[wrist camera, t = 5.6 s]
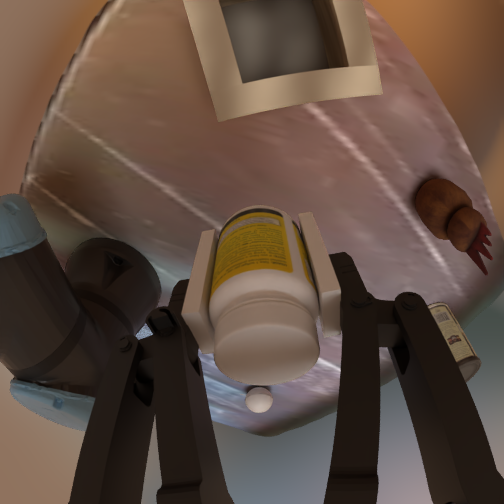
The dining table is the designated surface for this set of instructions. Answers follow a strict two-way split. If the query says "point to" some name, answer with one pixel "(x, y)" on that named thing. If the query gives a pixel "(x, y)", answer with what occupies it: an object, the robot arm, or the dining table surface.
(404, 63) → the dining table surface
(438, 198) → the wooden figurine
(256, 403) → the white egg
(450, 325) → the coffee can
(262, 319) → the supplement bottle
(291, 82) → the drop box
